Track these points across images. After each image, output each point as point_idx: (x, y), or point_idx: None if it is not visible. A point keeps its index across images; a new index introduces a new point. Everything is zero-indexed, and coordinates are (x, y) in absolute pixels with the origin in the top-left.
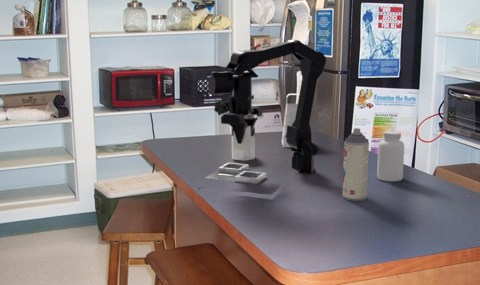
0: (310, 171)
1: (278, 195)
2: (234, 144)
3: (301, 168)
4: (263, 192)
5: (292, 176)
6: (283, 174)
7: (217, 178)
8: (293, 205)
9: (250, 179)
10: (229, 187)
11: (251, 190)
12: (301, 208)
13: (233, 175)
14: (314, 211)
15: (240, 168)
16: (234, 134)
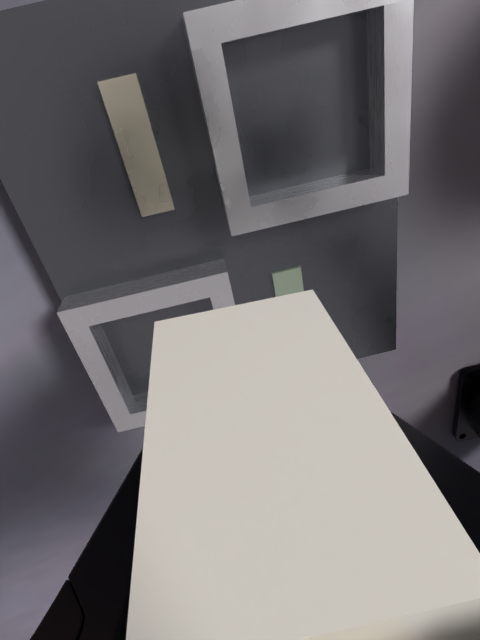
0: (477, 433)
1: (93, 503)
2: (153, 367)
3: (474, 421)
4: (81, 450)
5: (393, 403)
6: (413, 357)
7: (22, 149)
8: (34, 578)
9: (102, 395)
10: (8, 288)
11: (63, 401)
12: (29, 600)
13: (166, 211)
14: (38, 624)
15: (270, 213)
16: (143, 497)
